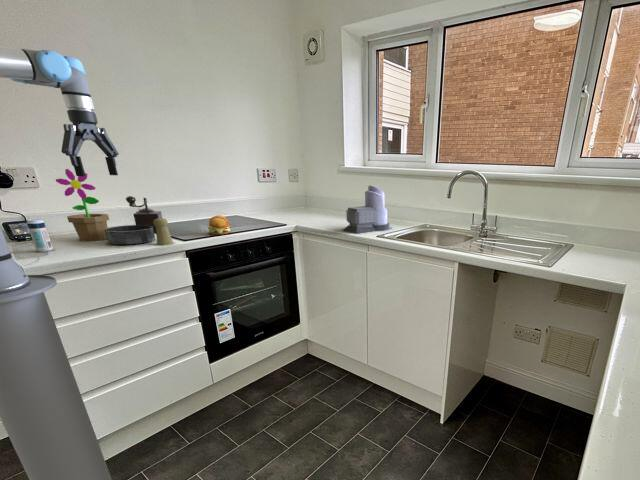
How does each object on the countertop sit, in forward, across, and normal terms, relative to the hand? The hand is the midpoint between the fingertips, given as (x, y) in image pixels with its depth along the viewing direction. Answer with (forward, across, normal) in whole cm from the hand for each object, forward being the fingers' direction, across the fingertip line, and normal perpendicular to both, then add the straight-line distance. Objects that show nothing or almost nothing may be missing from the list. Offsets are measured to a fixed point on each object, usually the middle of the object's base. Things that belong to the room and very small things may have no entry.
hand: (98, 175), depth 128 cm
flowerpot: (+29, -21, -30) cm, 47 cm away
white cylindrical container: (+29, +3, -28) cm, 40 cm away
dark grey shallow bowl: (+29, -19, -10) cm, 36 cm away
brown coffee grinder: (+29, -41, -19) cm, 54 cm away
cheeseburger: (+29, -45, +16) cm, 56 cm away
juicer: (+29, -77, +88) cm, 120 cm away
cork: (+29, -18, +6) cm, 35 cm away
